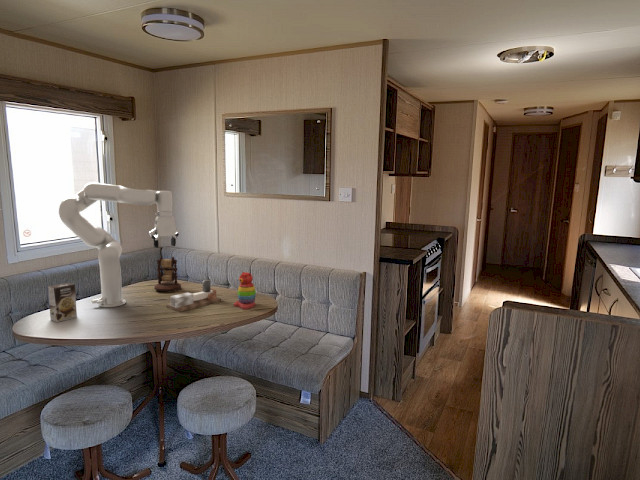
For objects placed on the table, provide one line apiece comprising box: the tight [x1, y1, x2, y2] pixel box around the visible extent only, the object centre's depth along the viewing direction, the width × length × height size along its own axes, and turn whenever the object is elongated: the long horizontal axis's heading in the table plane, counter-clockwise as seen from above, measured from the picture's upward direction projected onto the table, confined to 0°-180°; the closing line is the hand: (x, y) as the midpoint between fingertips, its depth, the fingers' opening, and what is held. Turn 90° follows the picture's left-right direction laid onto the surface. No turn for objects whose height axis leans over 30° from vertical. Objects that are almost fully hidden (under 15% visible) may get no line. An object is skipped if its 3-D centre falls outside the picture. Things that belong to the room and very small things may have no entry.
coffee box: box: [48, 282, 78, 323], centre depth 197 cm, size 9×6×16 cm
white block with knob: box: [192, 279, 213, 301], centre depth 226 cm, size 14×4×9 cm, turn 140°
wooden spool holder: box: [154, 256, 182, 293], centre depth 248 cm, size 15×15×20 cm
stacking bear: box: [233, 271, 257, 310], centre depth 222 cm, size 11×10×18 cm
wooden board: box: [165, 288, 222, 313], centre depth 224 cm, size 26×12×6 cm, turn 140°
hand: (164, 246), depth 224 cm, fingers open, 9 cm apart
